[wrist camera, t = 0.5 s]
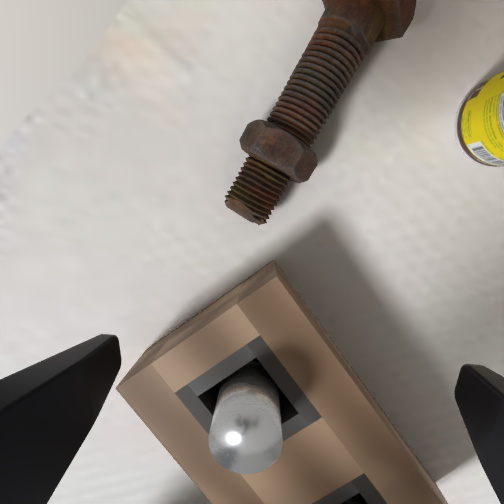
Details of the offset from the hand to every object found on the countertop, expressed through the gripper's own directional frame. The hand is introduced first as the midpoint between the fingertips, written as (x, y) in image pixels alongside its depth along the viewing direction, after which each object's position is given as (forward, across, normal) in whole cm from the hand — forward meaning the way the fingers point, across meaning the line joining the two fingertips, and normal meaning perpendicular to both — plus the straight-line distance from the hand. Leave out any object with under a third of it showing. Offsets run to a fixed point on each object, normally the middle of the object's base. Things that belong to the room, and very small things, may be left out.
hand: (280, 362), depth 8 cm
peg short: (+10, +2, +10) cm, 14 cm away
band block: (+12, -2, +15) cm, 19 cm away
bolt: (+17, 0, -7) cm, 18 cm away
